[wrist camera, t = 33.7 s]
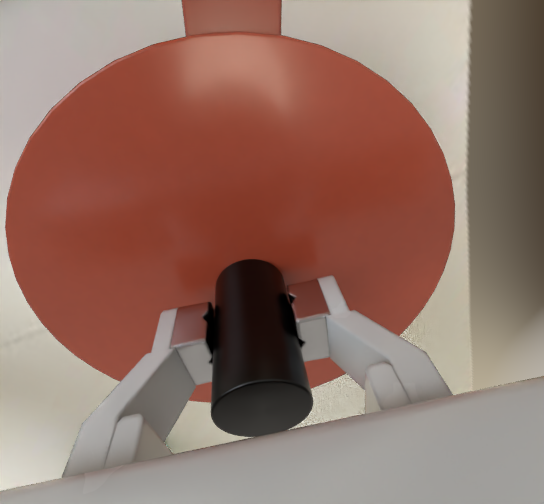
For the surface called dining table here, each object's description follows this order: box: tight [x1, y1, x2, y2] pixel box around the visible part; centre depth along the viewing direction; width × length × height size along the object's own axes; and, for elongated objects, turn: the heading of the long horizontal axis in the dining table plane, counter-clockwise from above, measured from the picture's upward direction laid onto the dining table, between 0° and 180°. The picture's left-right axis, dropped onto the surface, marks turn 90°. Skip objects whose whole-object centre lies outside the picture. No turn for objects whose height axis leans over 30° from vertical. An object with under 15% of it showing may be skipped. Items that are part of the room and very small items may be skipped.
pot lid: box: [5, 31, 455, 437], centre depth 10 cm, size 15×15×6 cm
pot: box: [182, 0, 282, 37], centre depth 15 cm, size 14×19×8 cm
